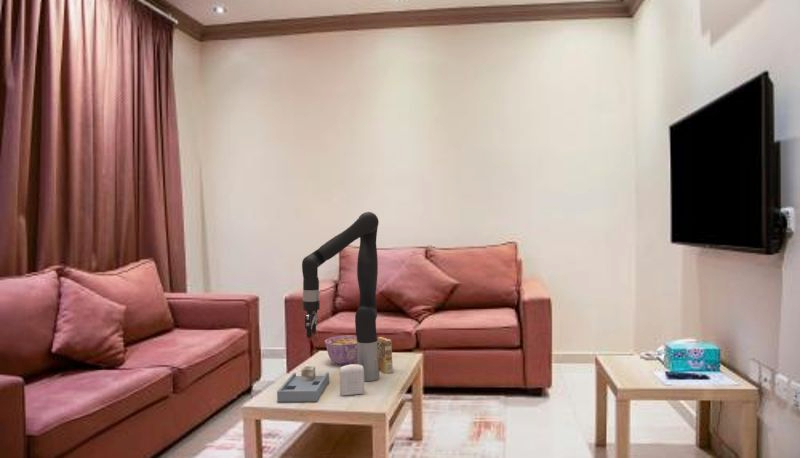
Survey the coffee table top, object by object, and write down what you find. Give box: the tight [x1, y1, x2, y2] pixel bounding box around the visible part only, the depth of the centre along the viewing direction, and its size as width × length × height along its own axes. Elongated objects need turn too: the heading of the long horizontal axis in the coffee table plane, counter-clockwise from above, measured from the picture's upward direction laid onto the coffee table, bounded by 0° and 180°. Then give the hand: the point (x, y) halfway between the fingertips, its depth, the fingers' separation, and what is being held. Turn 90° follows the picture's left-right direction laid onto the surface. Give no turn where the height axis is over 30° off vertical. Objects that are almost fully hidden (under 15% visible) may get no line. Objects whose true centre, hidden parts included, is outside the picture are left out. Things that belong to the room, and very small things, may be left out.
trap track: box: [276, 372, 330, 403], centre depth 249 cm, size 16×26×4 cm, turn 176°
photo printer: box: [339, 363, 365, 397], centre depth 244 cm, size 10×4×12 cm, turn 103°
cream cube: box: [300, 365, 317, 381], centre depth 256 cm, size 5×5×5 cm
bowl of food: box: [324, 334, 358, 366], centre depth 292 cm, size 20×20×12 cm
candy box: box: [377, 336, 394, 374], centre depth 276 cm, size 9×4×15 cm, turn 33°
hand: (311, 335), depth 263 cm, fingers open, 8 cm apart
